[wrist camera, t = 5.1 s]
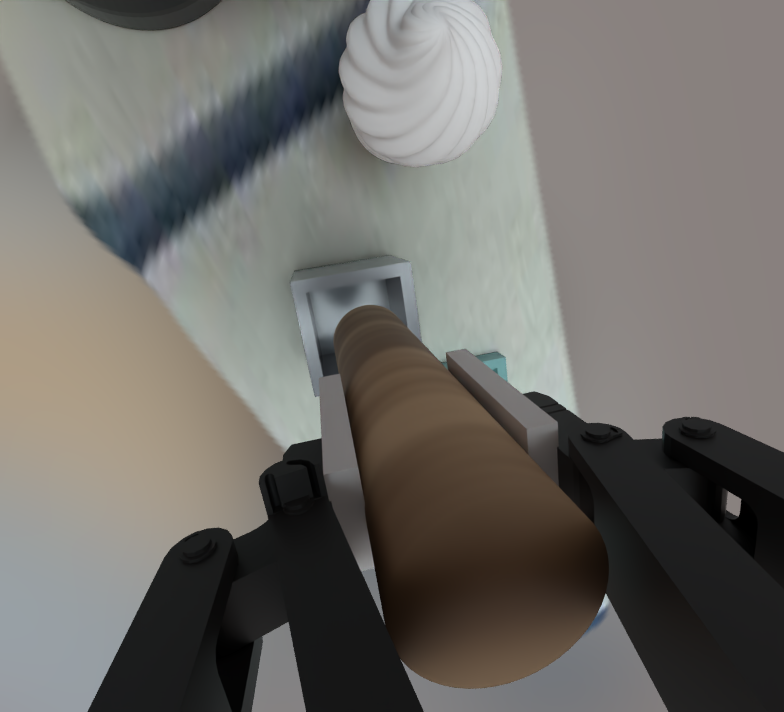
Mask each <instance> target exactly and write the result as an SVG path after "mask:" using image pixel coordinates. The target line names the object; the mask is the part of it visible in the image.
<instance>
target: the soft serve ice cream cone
mask: <svg viewBox="0 0 784 712" xmlns="http://www.w3.org/2000/svg"><path fill="white" fill-rule="evenodd" d="M346 43H347V47H346V49H345V51H344V52H343V54H342V56H341V58H340V62H339V75H340V79H341V83H342V85H343V87H344V92H343V102H344V109H345V111H346V113H347V115H348V117H349V119H350V121H351V125H352V128H353V130H354V132H355V134H356V136H357V138H358V139H359V141H360V142H361V144H362V145H363V146H364V147H365V148H366V149H367V150H368V151H369V152H370V153H371V154H373V155H374V156H376V157H377V158H379V159H381V160H383V161H386V162H389V163H394V164H401V165H403V166H409V167H422V166H428V165H433V164H442V163H446V162H448V161H451V160H454V159H456V158H458V157H459V156H461V155H462V154H463V153H465V152H466V151H467V150H469V148H470V147H471V146H472V145H473V143H474V142H475V141H476V139H478V138H479V137H480V136H481V135H482V133H483V132H484V131H485V130H486V129H487V128H488V126H489V125H490V123H491V121H492V119H493V117H494V116H495V113H496V109H497V105H498V101H499V88H500V84H501V77H502V69H503V67H502V60H501V54H500V51H499V49H498V46H497V44H496V41H495V40H494V38H493V37H492V32H491V28H490V24H489V21H488V18H487V16H486V14H485V13H484V11H483V10H482V8H481V7H480V6H479V5H477V4H476V3H474V2H473V1H471V0H370V2H369V5H368V7H367V10H366V13H363V14H361V15H359V16H358V17H356V18H355V19H354V20H353V21H352V22H351V23H350V26H349V29H348V32H347V37H346Z"/></svg>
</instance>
